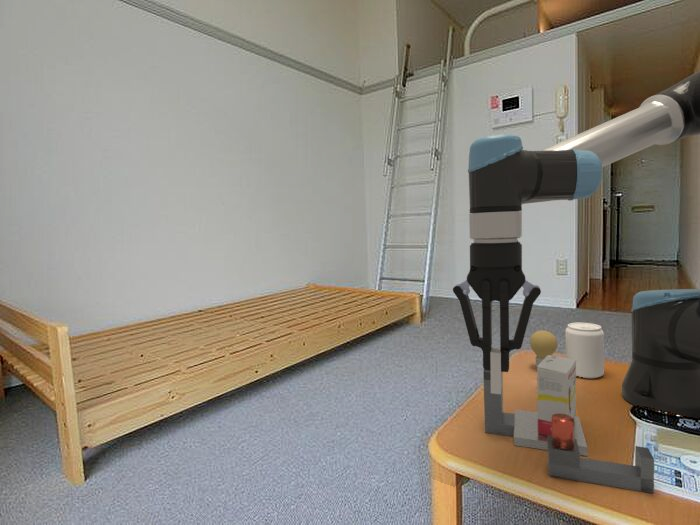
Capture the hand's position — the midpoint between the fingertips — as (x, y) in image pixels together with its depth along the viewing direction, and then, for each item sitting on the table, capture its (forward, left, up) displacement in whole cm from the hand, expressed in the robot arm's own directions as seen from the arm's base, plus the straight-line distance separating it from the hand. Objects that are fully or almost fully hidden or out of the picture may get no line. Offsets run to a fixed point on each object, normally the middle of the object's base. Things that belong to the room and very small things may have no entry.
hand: (496, 390), depth 64 cm
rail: (-14, 0, -12) cm, 18 cm away
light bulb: (-9, -47, -12) cm, 49 cm away
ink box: (-9, -12, -11) cm, 18 cm away
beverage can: (-18, -46, -12) cm, 51 cm away
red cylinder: (-9, 0, -10) cm, 13 cm away
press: (-5, -12, -12) cm, 18 cm away
